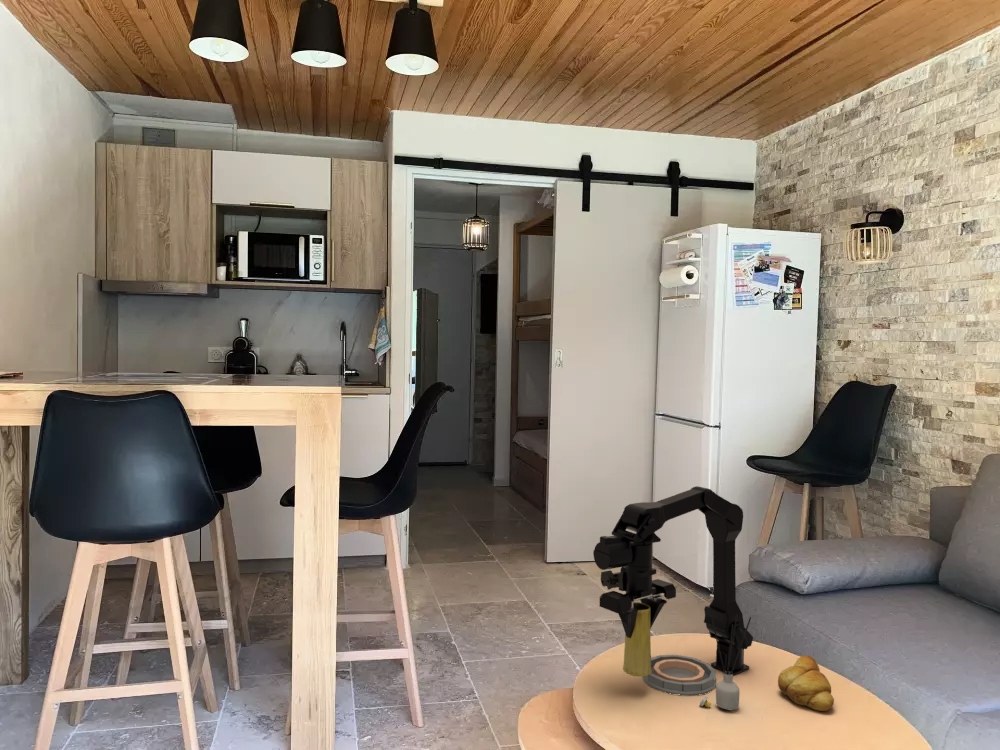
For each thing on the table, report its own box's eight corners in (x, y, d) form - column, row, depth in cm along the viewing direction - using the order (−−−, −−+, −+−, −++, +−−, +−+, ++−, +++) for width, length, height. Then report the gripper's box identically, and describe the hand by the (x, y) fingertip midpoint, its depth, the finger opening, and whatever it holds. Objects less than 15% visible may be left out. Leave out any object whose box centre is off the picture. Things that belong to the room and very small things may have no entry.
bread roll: (844, 714, 153) (845, 676, 153) (800, 717, 152) (801, 678, 152) (810, 686, 166) (811, 651, 166) (769, 688, 165) (770, 653, 164)
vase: (651, 678, 158) (652, 612, 157) (622, 675, 159) (623, 609, 159) (651, 666, 164) (652, 602, 163) (623, 663, 165) (624, 600, 165)
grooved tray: (673, 658, 180) (674, 648, 180) (731, 683, 167) (731, 672, 167) (627, 675, 170) (627, 665, 170) (684, 702, 157) (684, 691, 157)
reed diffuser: (745, 703, 157) (747, 610, 157) (755, 719, 151) (757, 621, 150) (696, 701, 158) (698, 608, 157) (705, 717, 151) (707, 620, 150)
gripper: (640, 548, 173) (639, 615, 173) (581, 561, 162) (580, 632, 162) (678, 559, 164) (676, 629, 164) (619, 574, 153) (618, 649, 153)
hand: (637, 634), depth 161 cm, fingers closed on vase, 5 cm apart
